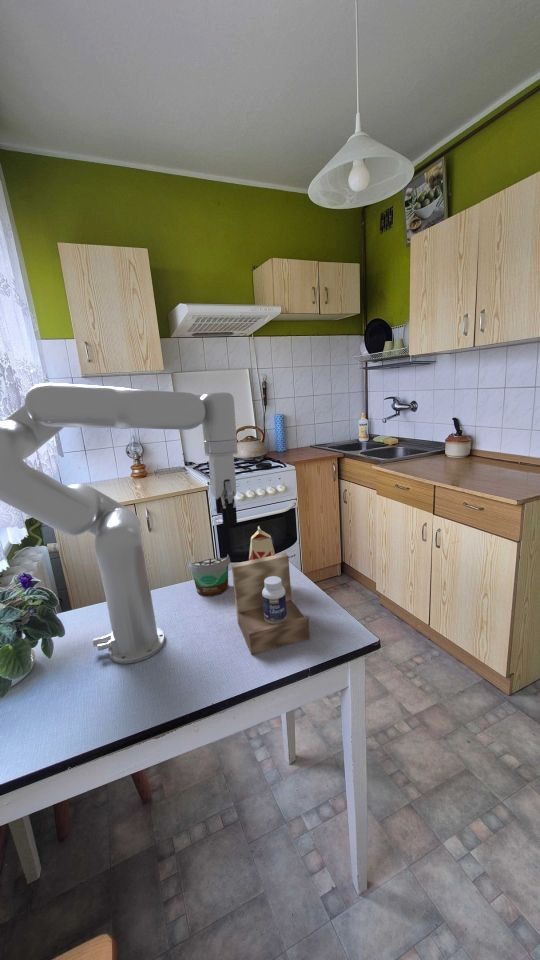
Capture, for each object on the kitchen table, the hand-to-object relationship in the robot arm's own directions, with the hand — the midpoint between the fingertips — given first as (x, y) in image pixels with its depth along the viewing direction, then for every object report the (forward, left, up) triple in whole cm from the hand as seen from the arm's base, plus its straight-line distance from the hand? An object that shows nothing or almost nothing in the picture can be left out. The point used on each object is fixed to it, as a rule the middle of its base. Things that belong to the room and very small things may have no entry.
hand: (226, 518), depth 92 cm
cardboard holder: (+7, -8, -27) cm, 29 cm away
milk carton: (+11, +10, -27) cm, 31 cm away
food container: (-3, +16, -27) cm, 32 cm away
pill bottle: (+7, -10, -23) cm, 26 cm away
